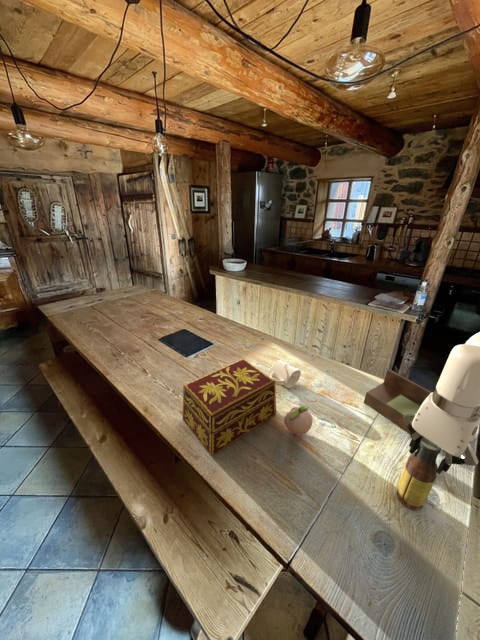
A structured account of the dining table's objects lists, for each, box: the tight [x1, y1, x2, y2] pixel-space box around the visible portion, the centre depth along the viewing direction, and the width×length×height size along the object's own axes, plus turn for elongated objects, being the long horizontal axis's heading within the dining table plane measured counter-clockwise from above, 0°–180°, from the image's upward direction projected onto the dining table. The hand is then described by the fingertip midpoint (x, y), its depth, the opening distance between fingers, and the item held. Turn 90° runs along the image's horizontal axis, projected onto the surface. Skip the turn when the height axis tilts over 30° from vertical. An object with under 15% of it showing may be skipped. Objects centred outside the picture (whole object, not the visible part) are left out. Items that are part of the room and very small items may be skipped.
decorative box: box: [181, 358, 277, 457], centre depth 90 cm, size 28×19×15 cm
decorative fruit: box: [283, 405, 313, 435], centre depth 86 cm, size 9×8×10 cm
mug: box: [269, 359, 302, 389], centre depth 109 cm, size 12×9×8 cm
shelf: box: [363, 368, 432, 437], centre depth 92 cm, size 24×12×11 cm, turn 32°
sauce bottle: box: [396, 437, 442, 511], centre depth 65 cm, size 6×6×20 cm
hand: (426, 459), depth 63 cm, fingers open, 5 cm apart
